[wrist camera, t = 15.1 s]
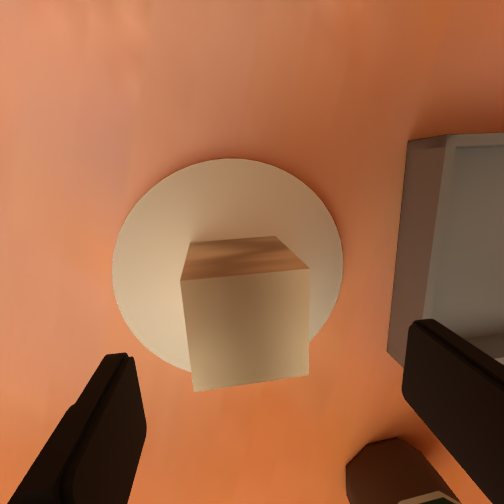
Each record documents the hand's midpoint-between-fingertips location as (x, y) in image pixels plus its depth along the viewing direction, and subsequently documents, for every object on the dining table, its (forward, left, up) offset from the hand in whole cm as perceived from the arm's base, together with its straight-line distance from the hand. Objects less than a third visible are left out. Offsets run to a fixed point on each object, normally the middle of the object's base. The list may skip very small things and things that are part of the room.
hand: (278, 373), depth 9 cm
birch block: (+1, 0, -8) cm, 8 cm away
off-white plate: (+1, 0, -9) cm, 9 cm away
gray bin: (-18, 0, -9) cm, 20 cm away
